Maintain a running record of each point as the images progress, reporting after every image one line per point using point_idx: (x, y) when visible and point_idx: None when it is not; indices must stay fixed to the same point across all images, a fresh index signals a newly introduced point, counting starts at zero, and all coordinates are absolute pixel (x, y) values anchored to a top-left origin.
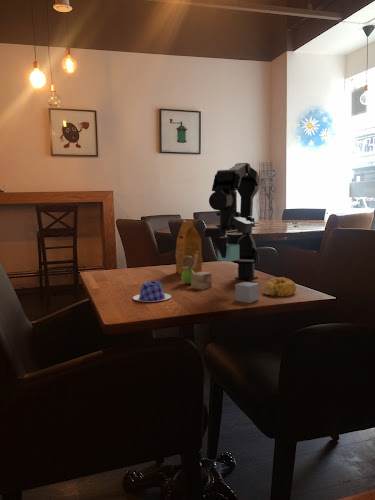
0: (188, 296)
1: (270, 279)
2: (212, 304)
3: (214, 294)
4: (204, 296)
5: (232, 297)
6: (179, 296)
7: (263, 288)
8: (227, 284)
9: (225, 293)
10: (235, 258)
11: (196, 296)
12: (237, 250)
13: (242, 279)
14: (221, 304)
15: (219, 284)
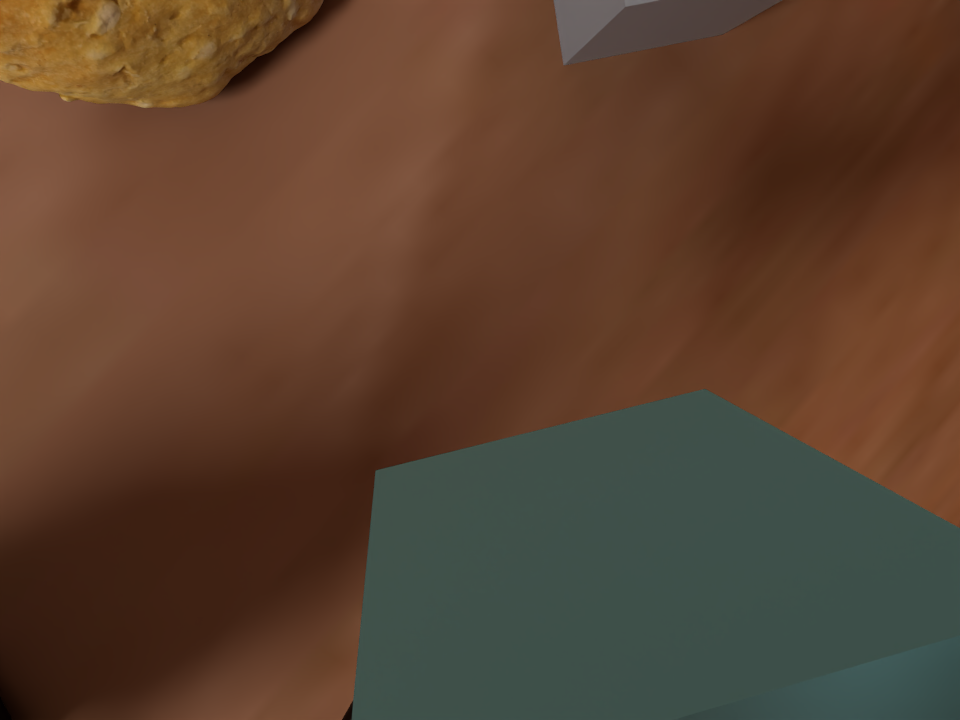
0: (870, 452)
1: (56, 8)
2: (956, 81)
3: (678, 369)
4: (789, 366)
5: (651, 157)
6: (912, 496)
7: (265, 34)
8: (290, 624)
9: (579, 333)
10: (538, 448)
11: (830, 410)
12: (473, 584)
13: (3, 706)
14: (911, 19)
15: (353, 666)
